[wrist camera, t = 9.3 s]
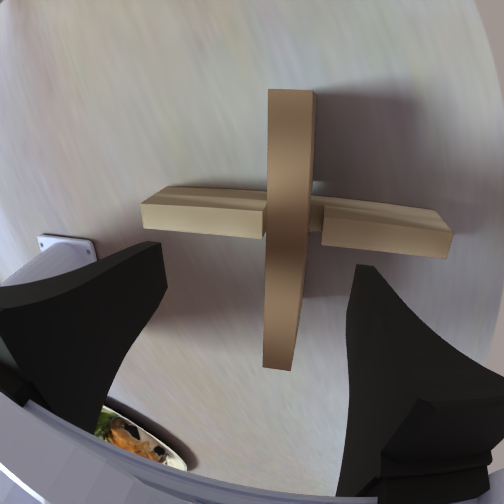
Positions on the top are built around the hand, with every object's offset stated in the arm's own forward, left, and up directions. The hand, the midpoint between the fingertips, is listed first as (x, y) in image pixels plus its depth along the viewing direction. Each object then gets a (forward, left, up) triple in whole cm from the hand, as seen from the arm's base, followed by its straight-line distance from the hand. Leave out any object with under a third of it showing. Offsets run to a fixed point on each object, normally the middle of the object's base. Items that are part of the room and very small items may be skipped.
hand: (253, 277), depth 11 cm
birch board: (-1, -1, -9) cm, 9 cm away
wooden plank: (-1, -1, -9) cm, 9 cm away
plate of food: (-45, +27, -10) cm, 53 cm away
